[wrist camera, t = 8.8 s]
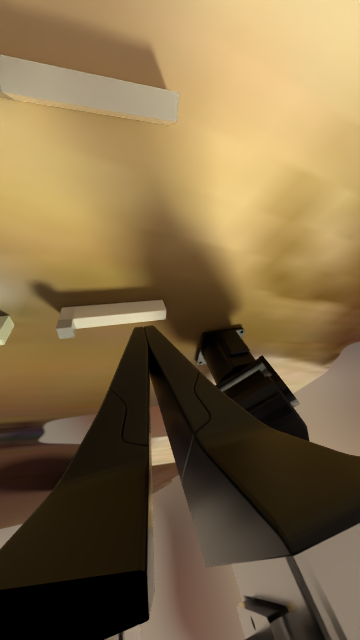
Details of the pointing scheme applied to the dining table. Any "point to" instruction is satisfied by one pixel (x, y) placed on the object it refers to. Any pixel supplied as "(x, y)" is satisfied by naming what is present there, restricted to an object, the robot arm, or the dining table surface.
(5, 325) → the tray
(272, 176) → the dining table surface
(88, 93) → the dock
